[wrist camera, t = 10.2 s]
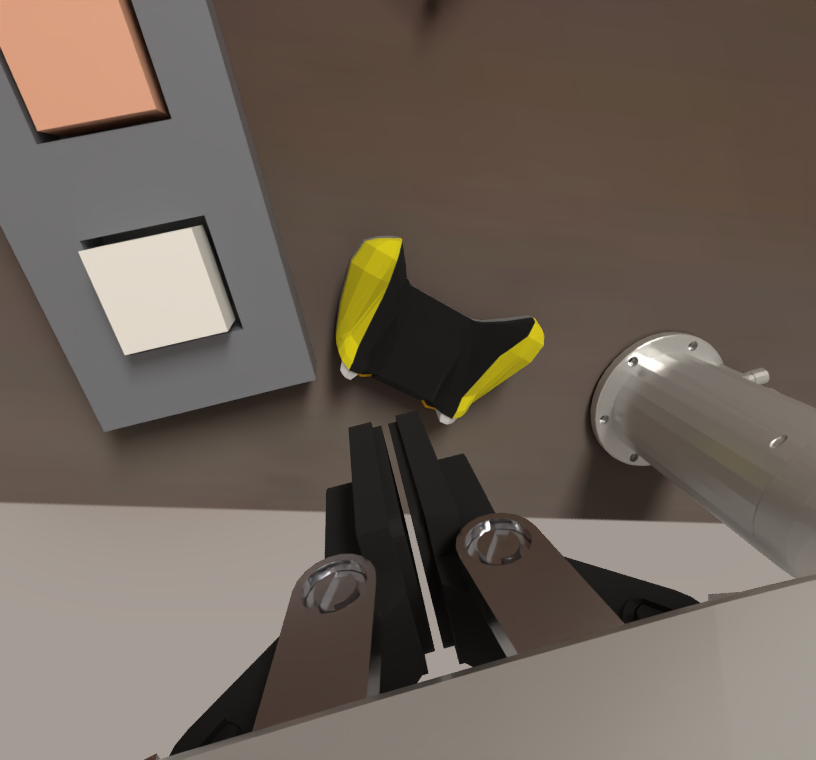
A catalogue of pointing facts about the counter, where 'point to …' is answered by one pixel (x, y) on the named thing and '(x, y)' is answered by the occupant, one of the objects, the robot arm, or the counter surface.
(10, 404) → the counter surface
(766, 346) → the counter surface
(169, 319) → the white key
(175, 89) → the key panel
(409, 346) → the gaming controller
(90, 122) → the terracotta key
